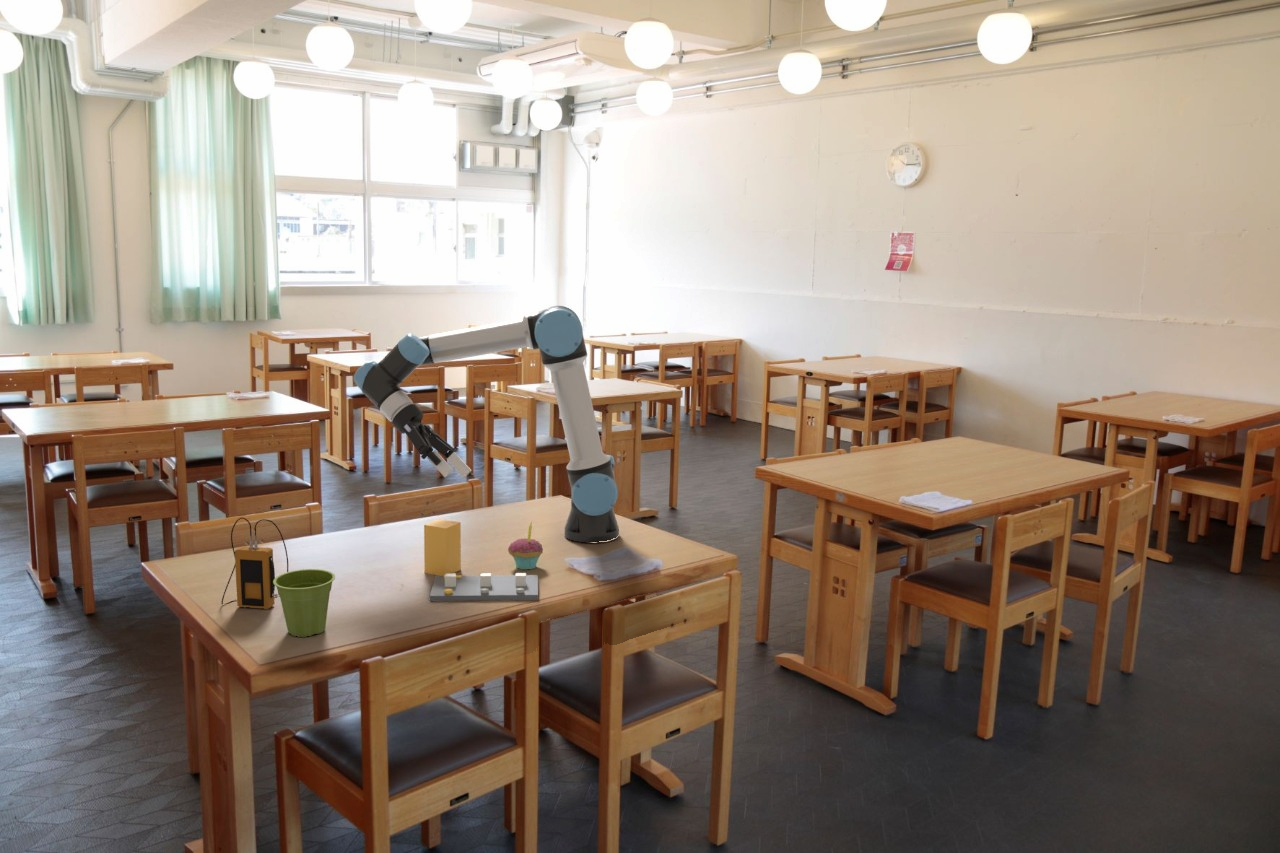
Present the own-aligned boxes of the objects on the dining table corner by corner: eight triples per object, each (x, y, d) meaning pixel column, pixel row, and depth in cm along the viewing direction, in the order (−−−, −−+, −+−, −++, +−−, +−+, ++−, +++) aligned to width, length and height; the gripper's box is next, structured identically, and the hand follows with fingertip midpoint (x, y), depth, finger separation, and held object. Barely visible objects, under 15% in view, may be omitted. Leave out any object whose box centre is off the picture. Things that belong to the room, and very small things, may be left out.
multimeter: (305, 595, 222) (302, 509, 219) (285, 611, 212) (282, 521, 209) (242, 591, 223) (239, 505, 220) (220, 607, 214) (215, 517, 210)
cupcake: (549, 567, 247) (550, 520, 245) (523, 574, 241) (524, 526, 238) (527, 559, 252) (527, 513, 250) (501, 566, 246) (501, 519, 244)
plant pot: (273, 624, 205) (271, 572, 203) (333, 617, 209) (331, 566, 207) (277, 645, 194) (274, 590, 192) (339, 638, 199) (338, 584, 197)
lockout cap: (439, 565, 245) (439, 518, 243) (460, 569, 243) (460, 522, 241) (424, 572, 240) (424, 524, 238) (446, 576, 237) (445, 528, 235)
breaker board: (537, 579, 237) (537, 564, 236) (538, 599, 223) (538, 584, 223) (435, 580, 234) (435, 565, 234) (429, 601, 221) (429, 585, 220)
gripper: (411, 426, 261) (464, 484, 258) (371, 420, 236) (429, 484, 233) (430, 406, 261) (484, 464, 257) (393, 398, 236) (451, 461, 233)
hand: (458, 473), depth 245 cm, fingers open, 13 cm apart
